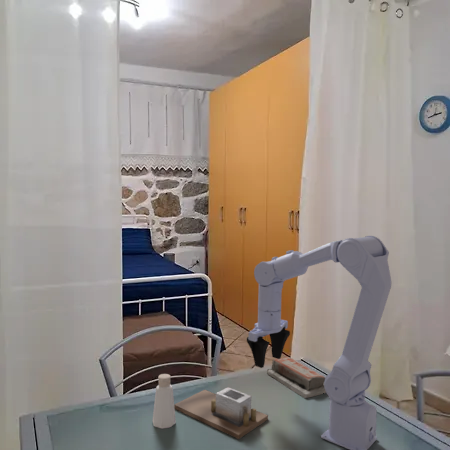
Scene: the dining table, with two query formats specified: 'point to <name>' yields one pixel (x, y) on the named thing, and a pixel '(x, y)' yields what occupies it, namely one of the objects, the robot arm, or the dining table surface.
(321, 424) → the dining table surface
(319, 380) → the packaged product
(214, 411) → the walnut tray
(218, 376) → the dining table surface
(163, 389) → the salt shaker
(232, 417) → the block
